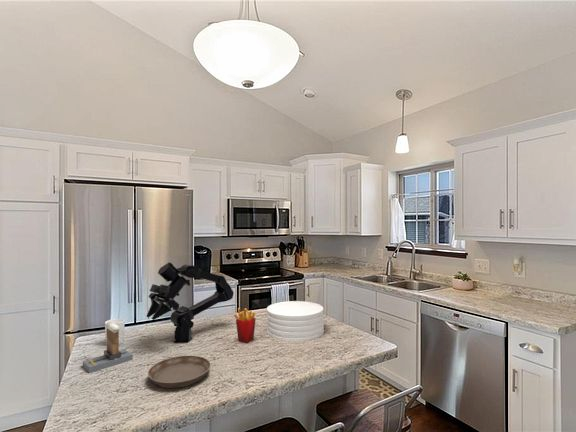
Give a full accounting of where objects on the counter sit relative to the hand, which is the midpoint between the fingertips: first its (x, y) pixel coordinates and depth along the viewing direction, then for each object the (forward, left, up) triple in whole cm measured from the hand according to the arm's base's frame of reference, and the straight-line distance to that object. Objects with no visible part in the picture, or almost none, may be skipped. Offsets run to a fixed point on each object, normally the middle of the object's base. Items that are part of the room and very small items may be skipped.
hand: (149, 318), depth 134 cm
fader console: (+10, +12, -14) cm, 21 cm away
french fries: (-39, -11, -14) cm, 43 cm away
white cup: (+20, -8, -14) cm, 26 cm away
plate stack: (-61, -26, -14) cm, 68 cm away
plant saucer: (-22, +22, -14) cm, 34 cm away
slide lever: (+9, +11, -11) cm, 18 cm away
